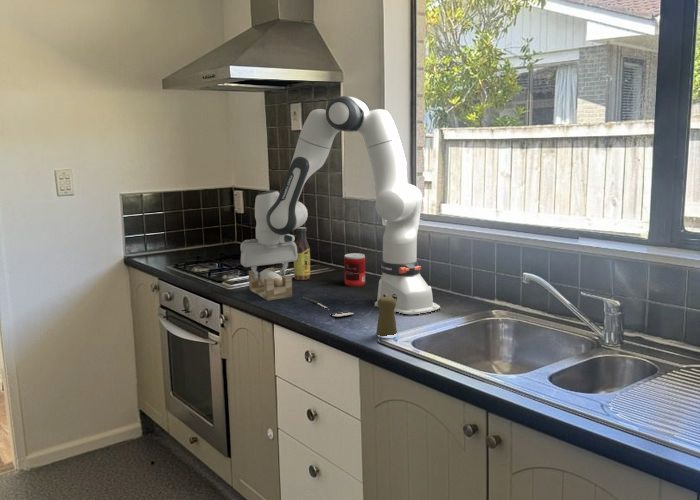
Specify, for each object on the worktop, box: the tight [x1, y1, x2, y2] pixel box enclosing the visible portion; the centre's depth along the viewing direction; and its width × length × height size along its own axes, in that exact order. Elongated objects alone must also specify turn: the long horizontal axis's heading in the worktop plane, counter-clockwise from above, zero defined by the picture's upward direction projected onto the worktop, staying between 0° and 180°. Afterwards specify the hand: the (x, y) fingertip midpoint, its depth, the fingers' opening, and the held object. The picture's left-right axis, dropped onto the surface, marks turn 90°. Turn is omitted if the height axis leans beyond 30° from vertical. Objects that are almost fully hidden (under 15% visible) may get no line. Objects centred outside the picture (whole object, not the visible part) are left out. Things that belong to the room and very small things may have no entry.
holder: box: [248, 267, 293, 301], centre depth 236 cm, size 18×9×7 cm, turn 29°
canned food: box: [343, 252, 366, 288], centre depth 247 cm, size 8×8×11 cm
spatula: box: [301, 296, 354, 318], centre depth 219 cm, size 6×29×2 cm, turn 31°
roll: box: [259, 268, 283, 287], centre depth 236 cm, size 16×5×5 cm, turn 29°
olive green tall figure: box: [376, 297, 398, 336], centre depth 188 cm, size 6×6×11 cm
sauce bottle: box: [293, 226, 311, 281], centre depth 256 cm, size 7×6×20 cm
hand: (270, 276), depth 235 cm, fingers open, 8 cm apart
